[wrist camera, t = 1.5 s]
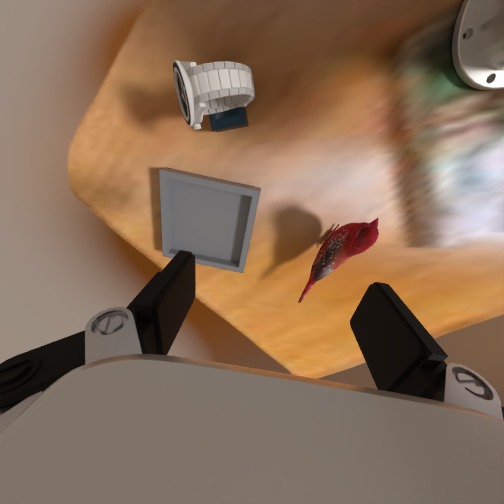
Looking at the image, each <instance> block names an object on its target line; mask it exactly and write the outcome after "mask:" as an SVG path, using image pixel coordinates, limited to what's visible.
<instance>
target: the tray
mask: <svg viewBox="0 0 504 504" xmlns="http://www.w3.org/2000/svg"><path fill="white" fill-rule="evenodd" d="M159 181H160V205H161V228H162V252H163V257H168V258H174V256H175V255H176V254H177V253H178V252H179V251H180V250H184V251H190V252H192V255H195V263H197V264H202V265H206V266H211V267H216V268H221V269H226V270H230V271H235V272H240V273H243V272H244V267H245V262H246V258H247V253H248V248H249V243H250V238H251V234H252V229H253V224H254V219H255V214H256V210H257V205H258V200H259V195H260V190H261V188H258V187H254V186H249V185H244V184H240V183H235V182H231V181H226V180H221V179H217V178H212V177H208V176H203V175H198V174H194V173H189V172H185V171H180V170H175V169H171V168H163V169H159Z"/></svg>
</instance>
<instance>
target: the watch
mask: <svg viewBox="0 0 504 504" xmlns="http://www.w3.org/2000/svg"><path fill="white" fill-rule="evenodd" d="M213 66H214V67H213ZM173 72H174V80H175V86H176V91H177V95H178V99H179V103H180V107H181V110H182V113H183V116H184V118H185V120H186V122H187V124H188V125H189V126H192V125H193V128H194V130H198V129H201V125H200V123H201V122H202V120H203V115H208V114H209V117H210V122H211V127H212V131H216V132H220V131H225V130H230V129H235V128H240V127H245V126H248V120H247V113H246V106H247V104H249V103H250V102H251V101H252V100H253V99H254V98H255V92H254V83H253V76H252V70H250V68H249V67H248V66H246V65H244V64H241V63H236V62H229V61H224V62H213V63H205V64H202V65H197V66H196V62H187V61H178V60H175V61H174V63H173Z"/></svg>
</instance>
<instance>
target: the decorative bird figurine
mask: <svg viewBox="0 0 504 504" xmlns="http://www.w3.org/2000/svg"><path fill="white" fill-rule="evenodd" d="M338 225H339V224H338ZM338 225H337V227H338ZM377 226H378V218H377V219H375V220H374V221H372V222H371V223H349V224H346V225H344V226H342V227H340V228H339V229H337V230H336V228H337V227H336V228H335V229H334V230H333V231H331V232H330V233H329V235H328V236H327V238H326V239H325V242H324V243H323V245H322V246H321V248H320V250H319V252H318V254H317V257H316V259H315V261H314V263H313V265H312V269H311V274H310V278H309V281H308V283H307V285H306V287H305V289H304V291H303V293H302V295H301V297H300V299H299V303H300V302H301V301H302V300H303V298H304V297H305V296H306V294H307V293H308V291H309V290H310V289H311V287H312V286H313V285H314V283H315V282H316V281H318V280H320V279H322V278H323V277H325V276H327V275H328V274H330V273H331V272H333V271H334V270H335V269H337V268H338V267H339V266H340V265H341V264H343V263H344V262H345V261H346V260H348V259H349V258H350V257H352V256H354V255H357V254H360V253H362V252H364V251H365V250H367V249H368V248H370V247H371V246H372V245H373V244H374V243H375V242H376V240H377V238H378V234H379V232H378V229H377ZM335 230H336V231H335Z"/></svg>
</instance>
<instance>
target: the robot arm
mask: <svg viewBox="0 0 504 504" xmlns="http://www.w3.org/2000/svg"><path fill="white" fill-rule="evenodd" d="M452 58H453V64H454V67H455V69H456V72H457V74H458V75H459V77H460V78H461V79H462V81H463V82H465V83H466V84H468V85H469V86H470V87H473V88H476V89H479V90H497V89H502V88H504V0H464V2H463V4H462V6H461V9H460V11H459V14H458V17H457V20H456V23H455V28H454V33H453V38H452ZM194 298H195V255H192V252H190V251H184V250H180V251H179V252H178V253H177V254H176V255H175V256H174V258H173V259H172V260H171V261H170V262H169V263H168V265H167V266H166V267H165V268H164V269H163V270H162V272H158V273H156V275H155V276H154V277H153V278H152V279H151V280H150V281H149V283H148V284H147V285H146V286H145V287H144V288H143V289H142V290H141V292H140V293H139V294H138V295H137V296H136V297H135V298H134V300H133V301H132V302H131V303H130V304H129V305H128V307H126V308H123V307H115V308H110V309H107V310H104V311H102V312H100V313H98V314H96V315H95V316H94V317H93V318H91V319H90V321H89V322H88V323H87V325H86V329H85V331H82V332H79V333H77V334H74V335H71V336H68V337H66V338H63V339H60V340H58V341H55V342H52V343H50V344H47V345H44V346H41V347H39V348H36V349H33V350H31V351H28V352H25V353H22V354H20V355H17V356H15V357H12V358H10V359H8V360H6V361H4V362H3V363H1V364H0V504H504V407H502V406H501V403H500V399H499V396H498V394H497V392H496V391H495V390H494V388H493V387H492V386H491V385H490V384H489V383H488V382H487V381H486V380H485V379H484V378H483V377H481V376H480V375H479V374H477V373H476V372H474V371H473V370H471V369H469V368H468V367H465V366H464V365H460V364H458V363H450V364H448V365H446V363H445V362H444V360H445V359H446V358H447V357H448V356H447V354H446V353H445V352H444V351H443V350H442V348H441V347H440V346H439V345H438V344H437V342H436V341H435V340H434V339H433V337H432V336H431V335H430V334H429V333H428V331H427V330H426V329H425V328H424V327H423V325H422V324H421V323H420V322H419V321H418V319H417V318H416V317H415V316H414V314H413V313H412V312H411V311H410V310H409V308H408V307H407V306H406V305H405V304H404V302H403V301H402V300H401V299H400V298H399V296H398V295H397V294H396V293H395V292H394V290H393V289H392V288H391V287H390V286H389V285H388V284H385V283H379V282H375V283H373V284H371V285H370V286H369V287H368V289H367V291H366V293H365V294H364V296H363V298H362V300H361V302H360V303H359V305H358V307H357V309H356V311H355V312H354V314H353V316H352V318H351V320H350V326H351V328H352V331H353V333H354V335H355V338H356V340H357V342H358V345H359V347H360V349H361V351H362V354H363V356H364V358H365V361H366V363H367V365H368V368H369V370H370V372H371V374H372V377H373V379H374V381H375V384H376V386H377V388H378V389H372V388H366V387H360V386H355V385H349V384H343V383H337V382H331V381H325V380H319V379H314V378H308V377H302V376H296V375H289V374H284V373H278V372H272V371H266V370H260V369H254V368H247V367H241V366H235V365H228V364H223V363H217V362H210V361H204V360H197V359H190V358H183V357H176V356H167V353H168V351H169V350H170V347H171V345H172V343H173V341H174V339H175V337H176V335H177V333H178V331H179V329H180V327H181V325H182V323H183V321H184V319H185V317H186V315H187V313H188V311H189V309H190V307H191V305H192V303H193V301H194Z"/></svg>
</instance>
